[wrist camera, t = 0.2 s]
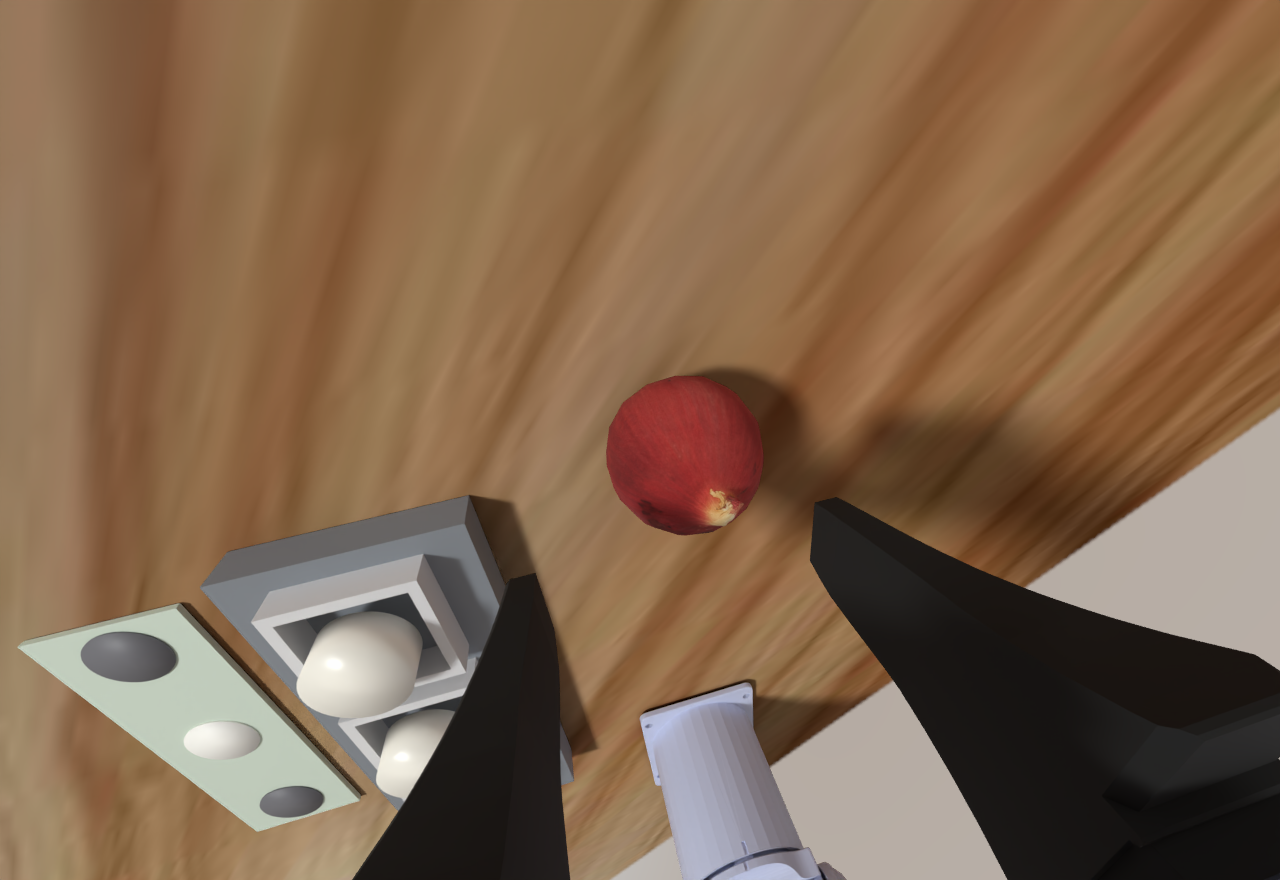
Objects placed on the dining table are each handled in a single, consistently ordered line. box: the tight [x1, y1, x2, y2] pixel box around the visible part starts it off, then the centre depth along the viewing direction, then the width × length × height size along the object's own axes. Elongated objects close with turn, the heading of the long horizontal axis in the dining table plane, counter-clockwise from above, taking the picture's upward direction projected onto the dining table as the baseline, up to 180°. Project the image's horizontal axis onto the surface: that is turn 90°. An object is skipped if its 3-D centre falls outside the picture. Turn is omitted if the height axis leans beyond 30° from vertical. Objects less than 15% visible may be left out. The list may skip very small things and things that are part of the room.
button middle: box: [376, 709, 455, 798], centre depth 22 cm, size 4×4×2 cm
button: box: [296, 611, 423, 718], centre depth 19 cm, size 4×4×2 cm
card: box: [18, 603, 361, 832], centre depth 24 cm, size 18×6×1 cm, turn 8°
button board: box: [200, 495, 574, 811], centre depth 24 cm, size 22×10×4 cm, turn 8°
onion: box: [606, 376, 764, 535], centre depth 18 cm, size 6×6×8 cm
